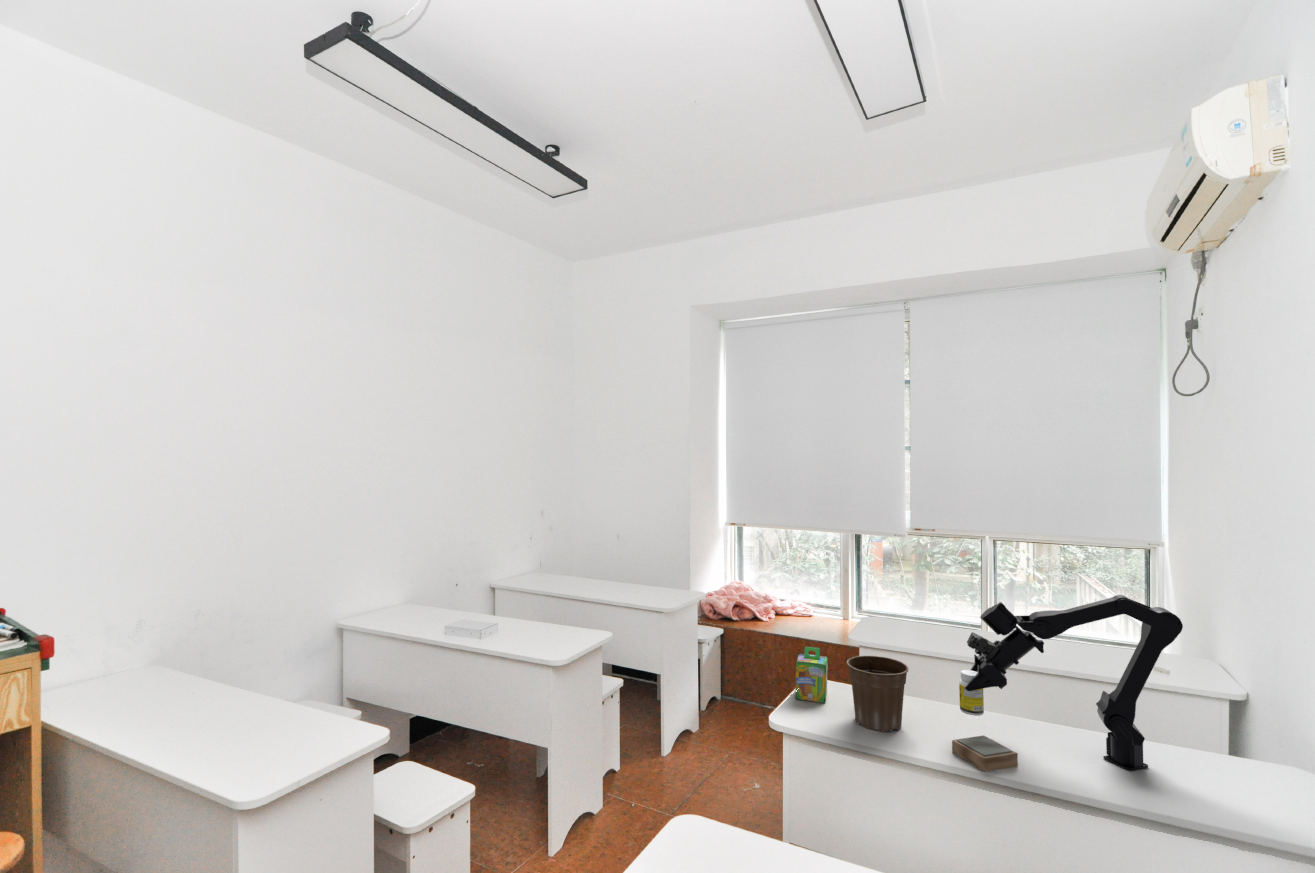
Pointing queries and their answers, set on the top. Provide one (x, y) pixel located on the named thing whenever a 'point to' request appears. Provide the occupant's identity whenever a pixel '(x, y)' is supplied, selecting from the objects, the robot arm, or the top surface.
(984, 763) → the plinth
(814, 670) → the chalk box
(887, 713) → the plant pot
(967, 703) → the supplement bottle
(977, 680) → the robot arm
